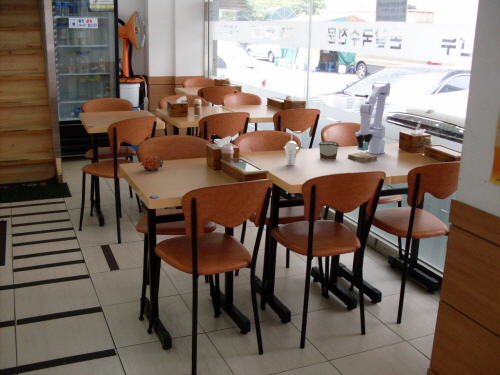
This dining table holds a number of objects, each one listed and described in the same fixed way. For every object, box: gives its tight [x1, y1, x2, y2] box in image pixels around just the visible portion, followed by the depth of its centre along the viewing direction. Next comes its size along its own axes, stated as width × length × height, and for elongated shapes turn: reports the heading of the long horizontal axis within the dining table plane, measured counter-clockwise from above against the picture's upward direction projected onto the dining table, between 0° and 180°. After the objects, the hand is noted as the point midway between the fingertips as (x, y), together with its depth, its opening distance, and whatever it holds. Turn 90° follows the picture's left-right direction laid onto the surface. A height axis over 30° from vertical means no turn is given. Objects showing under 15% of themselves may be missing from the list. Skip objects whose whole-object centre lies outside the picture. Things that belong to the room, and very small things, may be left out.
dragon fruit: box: [140, 155, 164, 172], centre depth 288 cm, size 8×8×12 cm
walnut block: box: [347, 151, 378, 164], centre depth 323 cm, size 12×12×3 cm
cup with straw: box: [283, 130, 302, 166], centre depth 303 cm, size 8×9×20 cm
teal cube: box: [356, 140, 370, 152], centre depth 321 cm, size 4×4×4 cm
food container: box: [318, 140, 340, 161], centre depth 323 cm, size 12×6×10 cm, turn 84°
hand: (363, 147), depth 321 cm, fingers closed on teal cube, 4 cm apart
